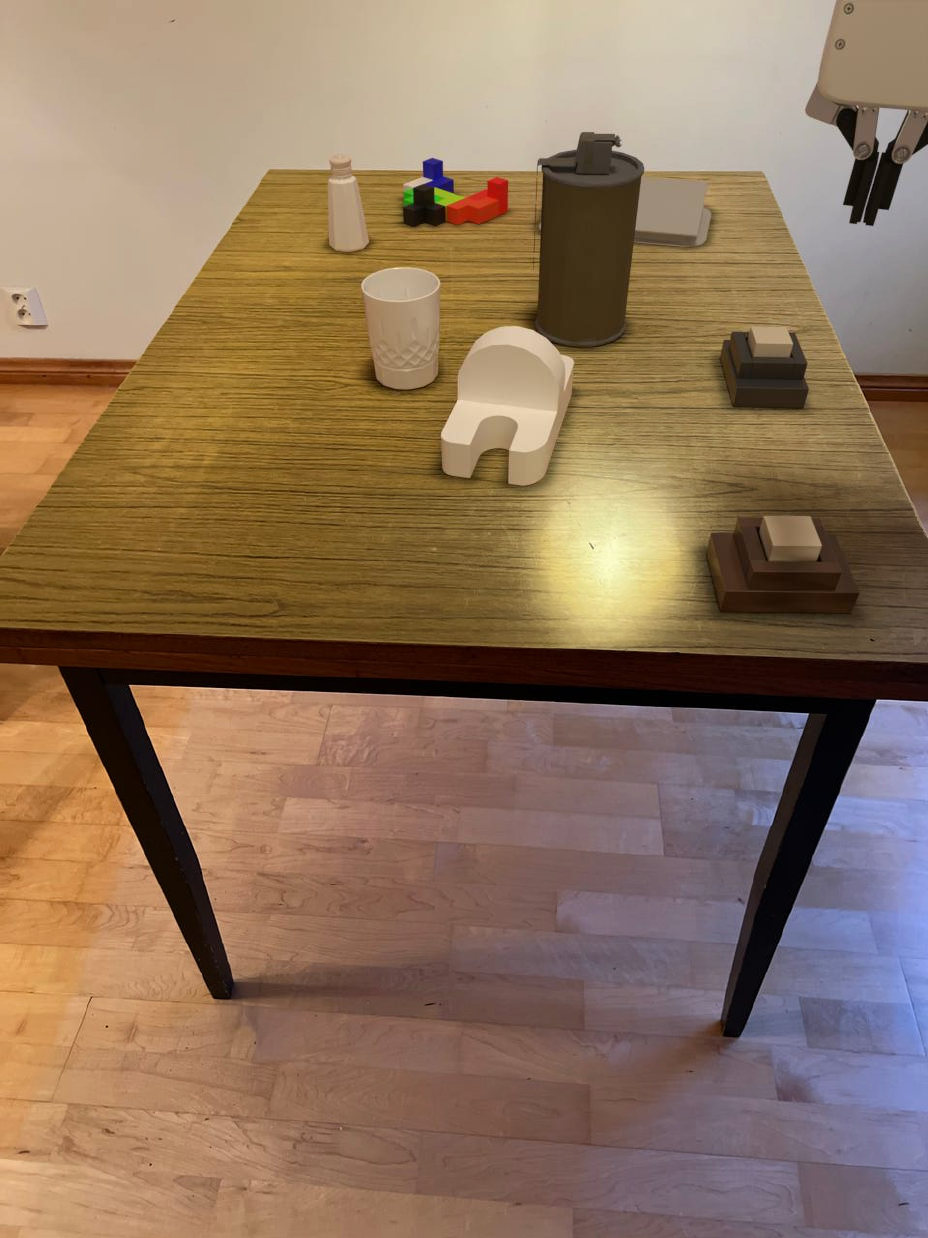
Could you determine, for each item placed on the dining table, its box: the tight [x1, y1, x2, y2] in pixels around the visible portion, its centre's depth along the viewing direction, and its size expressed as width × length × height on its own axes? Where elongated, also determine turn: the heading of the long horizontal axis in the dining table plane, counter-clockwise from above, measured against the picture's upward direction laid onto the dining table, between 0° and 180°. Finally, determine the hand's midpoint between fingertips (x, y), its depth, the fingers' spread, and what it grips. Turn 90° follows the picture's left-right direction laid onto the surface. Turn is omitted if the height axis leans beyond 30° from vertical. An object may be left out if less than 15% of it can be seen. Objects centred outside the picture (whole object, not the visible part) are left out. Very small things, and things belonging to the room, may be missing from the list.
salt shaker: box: [327, 154, 370, 253], centre depth 116 cm, size 5×5×11 cm
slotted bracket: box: [440, 325, 575, 487], centre depth 83 cm, size 18×10×10 cm, turn 165°
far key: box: [747, 325, 793, 357], centre depth 89 cm, size 4×4×2 cm
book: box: [538, 176, 712, 248], centre depth 123 cm, size 15×23×4 cm, turn 74°
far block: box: [719, 331, 810, 409], centre depth 91 cm, size 10×7×4 cm
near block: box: [706, 516, 860, 614], centre depth 69 cm, size 10×7×4 cm
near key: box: [759, 515, 822, 562], centre depth 67 cm, size 4×4×2 cm
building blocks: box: [402, 157, 509, 227], centre depth 126 cm, size 15×13×4 cm
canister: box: [532, 131, 645, 348], centre depth 95 cm, size 11×10×20 cm
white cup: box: [360, 266, 441, 390], centre depth 91 cm, size 8×8×10 cm
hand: (862, 217), depth 61 cm, fingers closed
